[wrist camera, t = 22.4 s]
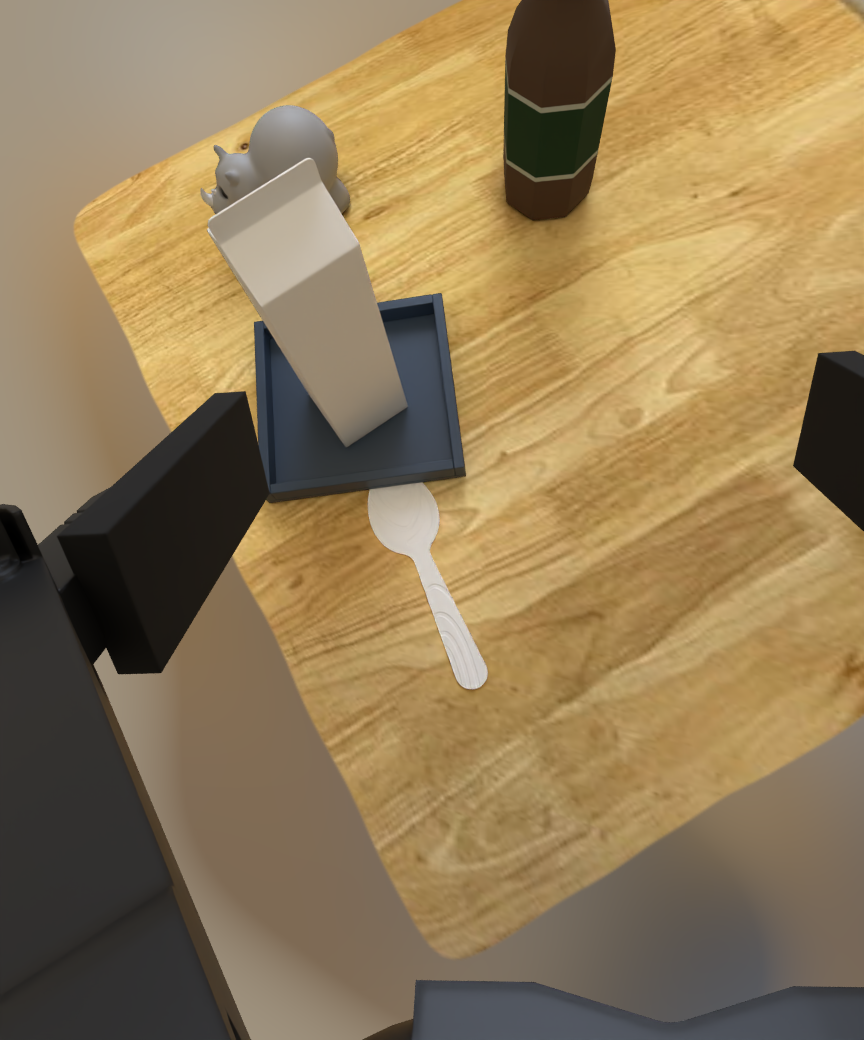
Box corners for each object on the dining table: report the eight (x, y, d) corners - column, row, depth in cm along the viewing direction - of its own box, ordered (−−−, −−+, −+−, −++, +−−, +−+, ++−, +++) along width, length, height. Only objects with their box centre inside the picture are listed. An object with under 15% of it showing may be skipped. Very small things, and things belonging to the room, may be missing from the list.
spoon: (443, 703, 44) (442, 703, 44) (354, 484, 49) (353, 482, 49) (512, 673, 44) (512, 672, 44) (416, 457, 49) (415, 455, 49)
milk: (308, 394, 51) (172, 180, 30) (369, 353, 51) (279, 113, 30) (347, 450, 49) (233, 265, 28) (410, 407, 49) (345, 194, 28)
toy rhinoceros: (214, 207, 57) (168, 127, 49) (335, 158, 57) (308, 69, 49) (237, 268, 55) (192, 194, 47) (361, 216, 55) (339, 134, 47)
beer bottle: (575, 233, 53) (640, -121, 30) (488, 212, 54) (486, -141, 31) (601, 161, 54) (682, -227, 31) (516, 143, 56) (534, -242, 33)
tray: (443, 307, 52) (441, 292, 50) (466, 476, 48) (464, 467, 46) (262, 335, 53) (253, 321, 51) (269, 503, 49) (259, 495, 47)
